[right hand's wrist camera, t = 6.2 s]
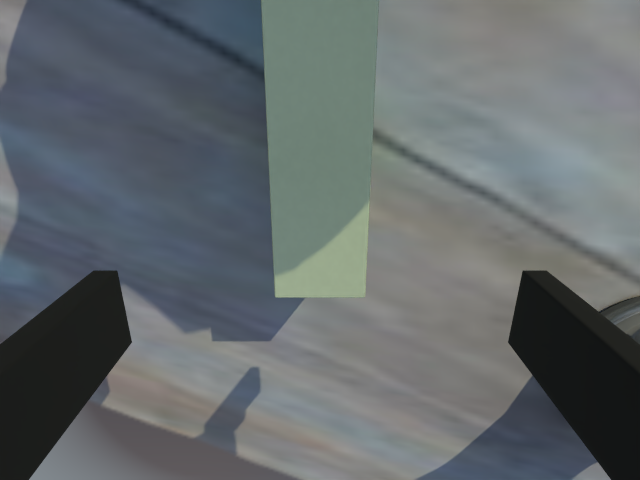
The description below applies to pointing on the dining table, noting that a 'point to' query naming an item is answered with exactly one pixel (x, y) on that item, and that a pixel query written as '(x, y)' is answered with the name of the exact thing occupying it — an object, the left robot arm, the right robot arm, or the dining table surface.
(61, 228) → the dining table surface
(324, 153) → the sage box
